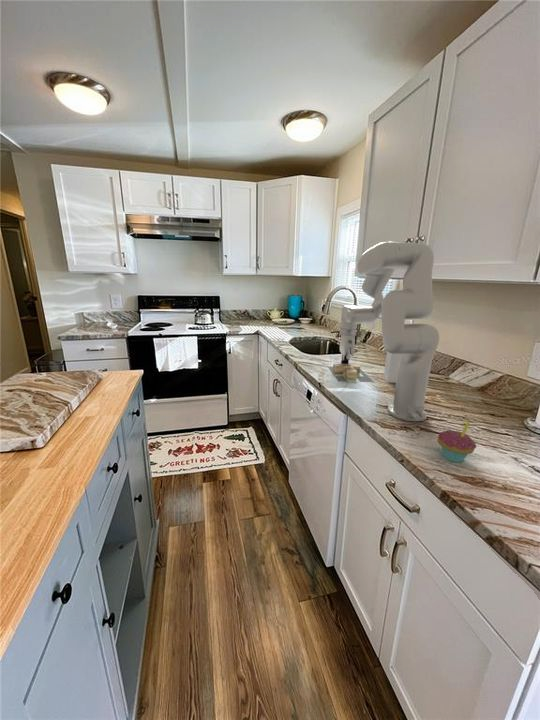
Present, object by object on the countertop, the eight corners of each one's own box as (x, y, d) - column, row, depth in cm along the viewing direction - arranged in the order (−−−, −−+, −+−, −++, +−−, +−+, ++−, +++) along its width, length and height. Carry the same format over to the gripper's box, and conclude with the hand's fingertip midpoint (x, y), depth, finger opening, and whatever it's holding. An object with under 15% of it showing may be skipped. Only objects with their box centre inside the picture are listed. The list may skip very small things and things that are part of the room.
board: (373, 384, 132) (374, 381, 132) (338, 383, 132) (338, 381, 131) (358, 369, 153) (358, 367, 153) (327, 368, 153) (327, 366, 152)
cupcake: (477, 460, 78) (487, 418, 75) (462, 471, 74) (472, 427, 70) (443, 445, 85) (451, 406, 82) (428, 454, 80) (436, 413, 77)
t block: (365, 380, 134) (366, 371, 133) (338, 379, 134) (339, 371, 132) (357, 371, 145) (358, 363, 144) (332, 371, 145) (333, 363, 144)
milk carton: (398, 380, 138) (404, 340, 133) (403, 385, 132) (410, 343, 126) (383, 379, 139) (388, 339, 134) (387, 384, 132) (393, 343, 127)
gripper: (360, 334, 135) (356, 373, 140) (351, 328, 149) (347, 363, 154) (344, 334, 134) (340, 372, 140) (336, 328, 149) (333, 363, 154)
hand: (344, 367), depth 147 cm, fingers closed
